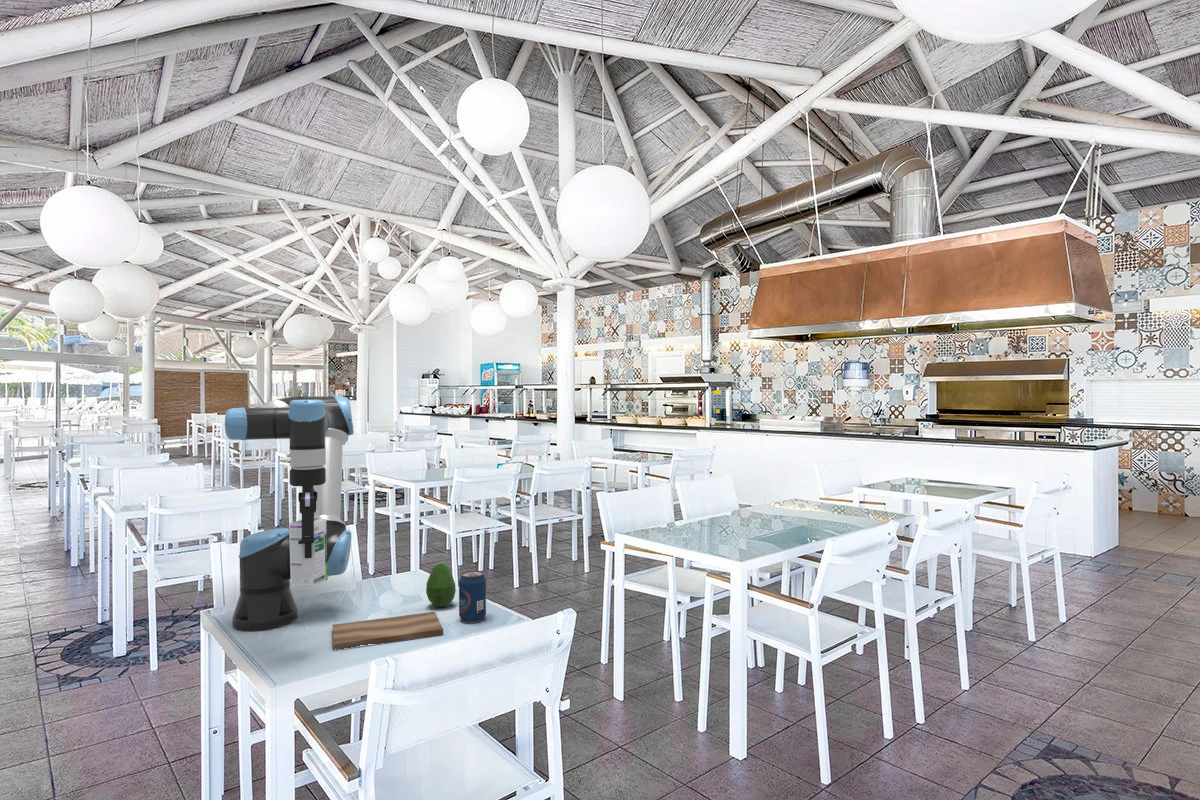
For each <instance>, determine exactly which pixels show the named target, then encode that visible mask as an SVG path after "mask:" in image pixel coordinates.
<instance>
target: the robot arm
mask: <svg viewBox="0 0 1200 800" xmlns="http://www.w3.org/2000/svg"><path fill="white" fill-rule="evenodd" d="M351 407H352V406H351V401H350V399H349V398H348V397H345V396H338V395H337V396H336V395H331V396H330V395H329V396H327V395H326V396H316V395H315V396H287V397H283V398H278V399H274V400H270V401H267V402H265V403H264V404H262V405H261V406H256V407H255V406H254V407H242V406H241V407H233V408H228V409H227V411H226V413H225V417H224V431H225V435H226V437H227V438H228V439H229V440H231V441H234V440H236V441H237V440H238V441H249V440H251V441H252V440H273V439H274V440H286V439H287V440H289V452H288V453H286V458H288V459H289V466H290V467H291V468H290V470H289V485H290V486H292V487H301V488H302V489H301V492H298V496H297V497H298V498H297V499H298V503H299V513H300V514H301V520H302V538H301V541H298V544H301V552H302V573H307V572H315V542H314V541H315V538H314V518H323V519H326V535H327V572H328V578H329V577H333V576H338V575H342V574H344V573H345V572H346V570H347V568H348V565H349V560H350V555H351V554H350V553H351V547H352V545H351V544H352V531H351V530H349V529H347V525H346V523H345V522H344V521H342V520H341V513H342V512H341V511H342V504H341V503H342V481H343V480H342V477H343V474H342V473H343V446H344V445H346V443H347V442H348V441H349V436H351V435H354V423H353V416H352V415H353V414H352V408H351ZM305 536H310V537H305ZM238 558H239V595H238V600H237V602H236V607H235V609H234V611H233V614H232V628H233V629H236V630H239V631H244V632H247V631H249V632H252V631H253V632H254V631H255V632H256V631H265V630H271V629H275V628H279V627H284V626H286V625H288V624H291V623H293V622H295V620H297V619H298V607H297V603H296V601H295V598H294V595H293V593H292V591H291V575H290V540H289V528H288V527H287V528H286V527H283V528H281V527H280V528H272V529H266V530H263V531H258V532H255V533H252V534H249V535H247V536H245V537H244V538H242V540H241V541H240V543H239V555H238Z"/></svg>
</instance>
